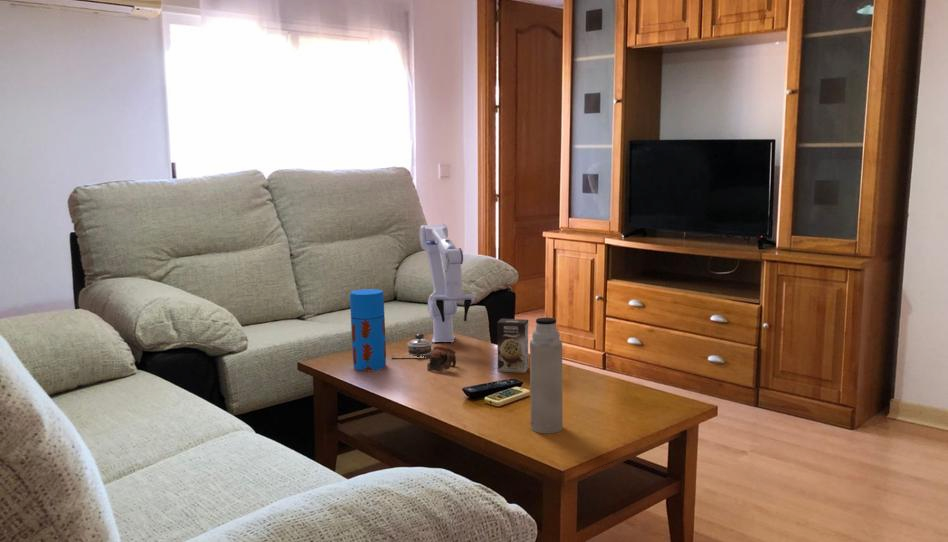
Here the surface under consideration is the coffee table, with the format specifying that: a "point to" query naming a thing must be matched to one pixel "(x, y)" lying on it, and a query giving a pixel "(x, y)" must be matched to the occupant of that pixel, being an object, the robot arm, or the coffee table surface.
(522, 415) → the coffee table surface
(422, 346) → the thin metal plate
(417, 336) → the silver lid with knob
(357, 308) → the thermos
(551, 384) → the thermos bottle
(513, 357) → the grey cardboard box
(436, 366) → the brown animal figurine
